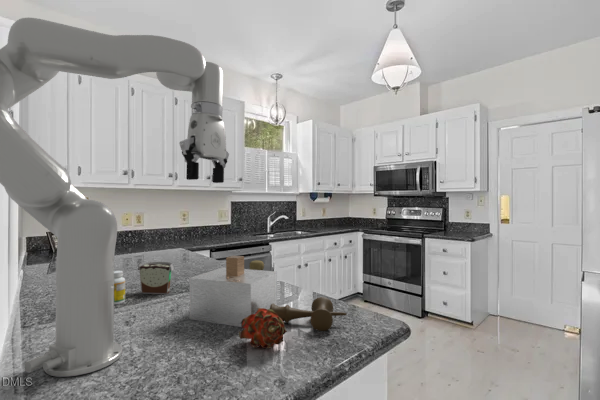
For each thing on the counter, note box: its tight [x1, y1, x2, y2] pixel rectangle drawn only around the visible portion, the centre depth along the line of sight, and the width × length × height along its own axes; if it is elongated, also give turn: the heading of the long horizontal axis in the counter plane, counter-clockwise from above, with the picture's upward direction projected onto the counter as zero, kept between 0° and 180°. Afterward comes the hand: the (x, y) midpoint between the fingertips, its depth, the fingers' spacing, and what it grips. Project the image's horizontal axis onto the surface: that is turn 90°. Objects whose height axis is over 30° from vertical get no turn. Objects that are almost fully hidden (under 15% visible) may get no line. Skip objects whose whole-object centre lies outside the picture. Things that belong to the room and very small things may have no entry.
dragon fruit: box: [238, 308, 288, 349], centre depth 71 cm, size 8×8×12 cm
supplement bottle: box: [114, 270, 126, 306], centre depth 101 cm, size 5×5×10 cm
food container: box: [137, 261, 174, 295], centre depth 114 cm, size 12×6×10 cm, turn 84°
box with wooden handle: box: [189, 255, 278, 328], centre depth 90 cm, size 16×19×16 cm
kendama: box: [270, 296, 348, 332], centre depth 83 cm, size 6×10×20 cm
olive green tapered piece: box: [248, 259, 265, 271], centre depth 113 cm, size 6×6×11 cm
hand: (206, 181), depth 81 cm, fingers open, 9 cm apart
